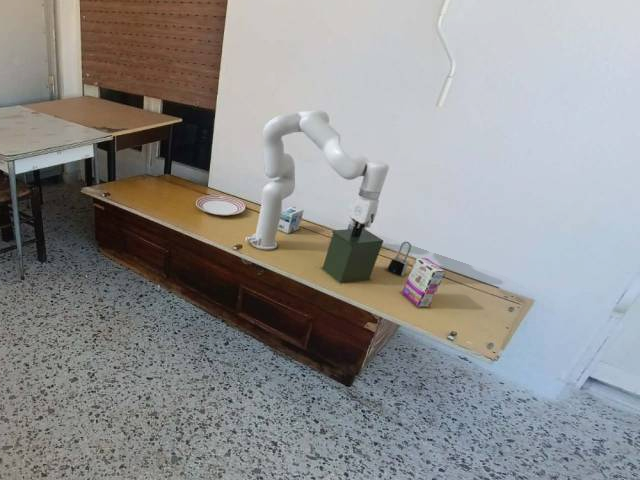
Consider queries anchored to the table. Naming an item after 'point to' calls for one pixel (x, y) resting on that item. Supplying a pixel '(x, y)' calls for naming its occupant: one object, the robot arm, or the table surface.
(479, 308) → the table surface
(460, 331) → the table surface
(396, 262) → the padlock
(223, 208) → the dinner plate
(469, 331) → the table surface
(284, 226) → the light bulb box
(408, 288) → the candy bar box
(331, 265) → the bin
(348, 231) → the bin lid
